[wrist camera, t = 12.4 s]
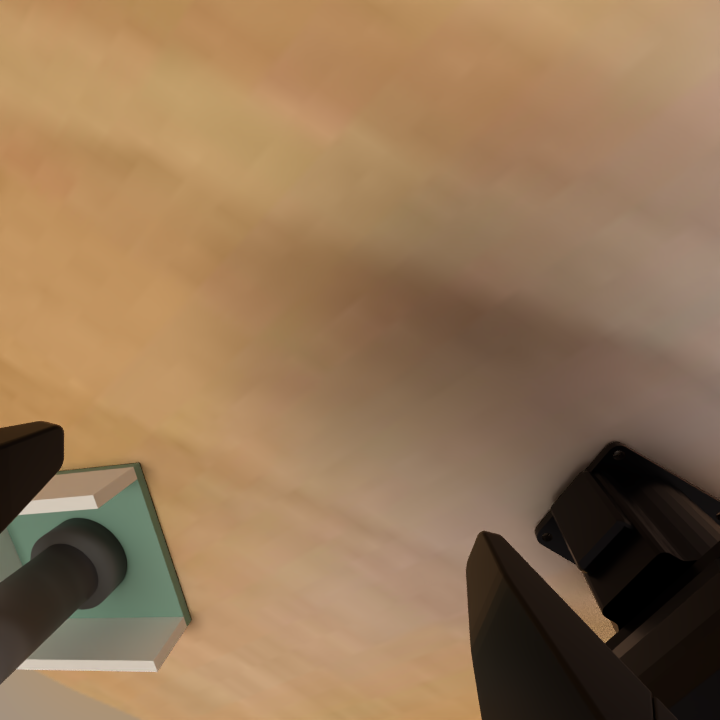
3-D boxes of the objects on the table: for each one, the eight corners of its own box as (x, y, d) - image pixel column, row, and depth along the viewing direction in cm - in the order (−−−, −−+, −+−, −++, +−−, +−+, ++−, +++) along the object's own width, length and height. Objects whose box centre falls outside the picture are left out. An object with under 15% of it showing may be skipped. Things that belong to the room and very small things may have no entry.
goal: (139, 462, 24) (92, 495, 21) (191, 620, 27) (157, 671, 23) (-15, 479, 27) (-78, 510, 24) (46, 622, 29) (-4, 668, 26)
